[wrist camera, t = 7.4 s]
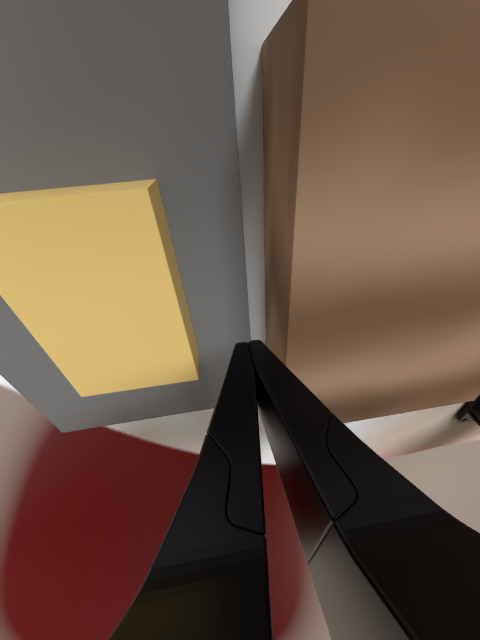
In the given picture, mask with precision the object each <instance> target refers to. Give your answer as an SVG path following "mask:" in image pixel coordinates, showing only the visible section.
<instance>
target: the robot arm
mask: <svg viewBox="0 0 480 640" xmlns="http://www.w3.org/2000/svg"><path fill="white" fill-rule="evenodd" d="M257 405H258V406H257ZM258 408H259V412H260V415H261V418H262V421H263V424H264V428H265V431H266V434H267V437H268V440H269V443H270V447H271V450H272V453H273V456H274V459H275V462H276V465H277V469H278V472H279V475H280V478H281V481H282V484H283V487H284V491H285V494H286V497H287V500H288V503H289V506H290V510H291V513H292V516H293V519H294V522H295V525H296V529H297V532H298V535H299V538H300V541H301V544H302V547H303V550H304V553H305V557H306V560H307V562H308V567H309V570H310V573H311V576H312V579H313V582H314V586H315V589H316V592H317V595H318V598H319V601H320V604H321V608H322V611H323V614H324V617H325V620H326V623H327V626H328V630H329V633H330V636H331V639H332V640H480V533H478V532H477V531H475V530H473V529H472V528H470V527H468V526H467V525H465V524H464V523H462V522H460V521H459V520H458V519H456V518H455V517H453V516H452V515H451V514H449V513H448V512H446V511H445V510H444V509H442V508H441V507H440V506H439V505H437V504H436V503H435V502H434V501H432V500H431V499H430V498H429V497H428V496H427V495H425V494H424V493H423V492H421V490H419V489H418V488H417V487H416V486H415V485H413V484H412V483H411V482H410V481H409V480H407V479H406V478H405V477H404V476H403V475H401V474H400V473H399V472H398V471H397V470H395V469H394V468H393V467H392V466H391V465H389V464H388V463H387V462H386V461H385V460H383V459H382V458H381V457H380V456H379V455H377V454H376V453H375V452H374V451H373V450H372V449H371V448H369V447H368V446H367V445H366V444H365V443H364V442H362V441H361V440H360V439H359V438H358V437H357V436H356V435H355V434H354V433H353V432H352V431H351V430H350V429H349V428H348V427H347V426H345V425H344V424H343V423H342V422H341V421H340V420H339V419H338V418H337V417H336V416H335V415H334V414H333V413H331V411H330V410H329V409H328V408H327V407H326V406H325V405H324V404H323V403H322V402H321V401H320V400H319V399H318V398H317V397H316V396H315V395H314V394H313V393H312V392H311V391H310V390H309V389H308V388H307V387H306V386H305V385H304V384H303V383H302V382H301V381H300V380H299V379H298V378H297V377H296V376H295V375H294V374H293V373H292V372H291V370H290V369H289V368H288V367H287V366H286V365H285V364H284V363H283V362H282V361H281V360H280V359H279V358H278V357H277V356H276V355H275V354H274V353H273V352H272V351H271V350H270V349H269V348H268V347H267V346H266V345H265V344H264V343H263V342H262V341H261V340H253V341H249V342H248V343H247V342H240V343H236V344H235V346H234V349H233V352H232V355H231V358H230V362H229V365H228V368H227V371H226V374H225V377H224V380H223V383H222V387H221V390H220V393H219V396H218V399H217V402H216V405H215V408H214V411H213V415H212V418H211V421H210V424H209V427H208V430H207V435H206V436H205V439H204V442H203V445H202V448H201V451H200V454H199V457H198V460H197V463H196V465H195V468H194V471H193V473H192V476H191V478H190V481H189V483H188V485H187V488H186V490H185V492H184V495H183V497H182V499H181V501H180V504H179V506H178V508H177V510H176V513H175V515H174V517H173V519H172V521H171V524H170V526H169V528H168V530H167V533H166V535H165V537H164V539H163V542H162V544H161V546H160V548H159V550H158V553H157V555H156V557H155V559H154V561H153V564H152V566H151V568H150V570H149V572H148V574H147V576H146V578H145V580H144V582H143V584H142V585H141V587H140V589H139V591H138V593H137V595H136V596H135V598H134V600H133V602H132V604H131V605H130V607H129V608H128V610H127V611H126V613H125V615H124V616H123V618H122V619H121V621H120V622H119V624H118V625H117V627H116V628H115V630H114V631H113V633H112V635H111V636H110V638H109V639H108V640H273V634H272V620H271V606H270V591H269V576H268V561H267V545H266V530H265V515H264V499H263V484H262V469H261V453H260V437H259V422H258ZM456 419H457V420H458V421H459V422H460V423H461V422H467V421H473V420H475V421H476V423H477V424H478V425H479V426H480V395H479V396H478V397H477V398H476V399H475V400H474V401H470V402H469V404H468V405H467V406H466V407H465V408H464V409H463V410H462V411H461V413H460V414H459V415H458V416H457V417H456Z"/></svg>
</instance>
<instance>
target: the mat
mask: <svg viewBox="0 0 480 640" xmlns="http://www.w3.org/2000/svg"><path fill="white" fill-rule="evenodd" d="M151 179H157V182H158V186H159V191H160V195H161V199H162V203H163V207H164V211H165V215H166V220H167V224H168V228H169V232H170V236H171V240H172V244H173V248H174V253H175V257H176V261H177V265H178V269H179V273H180V277H181V281H182V286H183V290H184V294H185V298H186V302H187V306H188V310H189V314H190V319H191V323H192V327H193V331H194V335H195V339H196V343H197V347H198V352H199V380H193V381H186V382H180V383H173V384H166V385H160V386H153V387H146V388H139V389H133V390H126V391H119V392H113V393H106V394H99V395H92V396H86V397H81V396H80V395H79V393H78V392H77V391H76V390H75V388H74V387H73V386H72V385H71V383H70V382H69V381H68V380H67V378H66V377H65V376H64V374H63V373H62V372H61V371H60V369H59V368H58V367H57V366H56V364H55V363H54V362H53V361H52V359H51V358H50V357H49V356H48V354H47V353H46V352H45V351H44V349H43V348H42V347H41V346H40V344H39V343H38V342H37V341H36V339H35V338H34V337H33V336H32V334H31V333H30V332H29V330H28V329H27V328H26V327H25V325H24V324H23V323H22V322H21V320H20V319H19V318H18V317H17V315H16V314H15V313H14V312H13V310H12V309H11V308H10V307H9V305H8V304H7V303H6V302H5V300H4V299H3V298H2V297H1V295H0V375H1V376H2V377H4V378H5V379H6V380H7V381H8V382H9V383H10V384H11V385H12V386H13V387H14V388H15V389H16V390H17V391H18V392H20V393H21V394H22V395H23V396H24V397H25V398H26V399H27V400H28V401H29V402H30V403H31V404H32V405H33V406H34V407H36V408H37V409H38V410H39V411H40V412H41V413H42V414H43V415H44V416H45V417H46V418H47V419H49V421H50V422H51V423H53V424H54V425H55V426H56V427H57V428H58V429H59V430H60V431H61V432H63V433H64V432H70V431H76V430H82V429H88V428H94V427H100V426H106V425H113V424H119V423H125V422H131V421H137V420H143V419H149V418H155V417H161V416H167V415H174V414H180V413H186V412H192V411H198V410H204V409H210V408H215V405H216V402H217V399H218V396H219V393H220V390H221V387H222V383H223V380H224V377H225V374H226V371H227V368H228V365H229V362H230V358H231V355H232V352H233V349H234V346H235V344H236V343H240V342H247V343H248V342H249V341H251V340H250V325H249V310H248V295H247V280H246V265H245V251H244V236H243V221H242V206H241V191H240V176H239V161H238V147H237V132H236V117H235V102H234V87H233V72H232V57H231V43H230V28H229V13H228V0H0V194H1V193H12V192H23V191H34V190H44V189H55V188H66V187H76V186H87V185H98V184H108V183H119V182H130V181H141V180H151Z"/></svg>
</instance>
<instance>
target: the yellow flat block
mask: <svg viewBox="0 0 480 640" xmlns="http://www.w3.org/2000/svg"><path fill="white" fill-rule="evenodd" d="M0 295H1V297H2V298H3V299H4V300H5V302H6V303H7V304H8V305H9V307H10V308H11V309H12V310H13V312H14V313H15V314H16V315H17V317H18V318H19V319H20V320H21V322H22V323H23V324H24V325H25V327H26V328H27V329H28V330H29V332H30V333H31V334H32V336H33V337H34V338H35V339H36V341H37V342H38V343H39V344H40V346H41V347H42V348H43V349H44V351H45V352H46V353H47V354H48V356H49V357H50V358H51V359H52V361H53V362H54V363H55V364H56V366H57V367H58V368H59V369H60V371H61V372H62V373H63V374H64V376H65V377H66V378H67V380H68V381H69V382H70V383H71V385H72V386H73V387H74V388H75V390H76V391H77V392H78V393H79V395H80V396H81V397H86V396H92V395H99V394H106V393H113V392H119V391H126V390H133V389H139V388H146V387H153V386H160V385H166V384H173V383H180V382H186V381H193V380H199V352H198V347H197V343H196V339H195V335H194V331H193V327H192V323H191V319H190V314H189V310H188V306H187V302H186V298H185V294H184V290H183V286H182V281H181V277H180V273H179V269H178V265H177V261H176V257H175V253H174V248H173V244H172V240H171V236H170V232H169V228H168V224H167V220H166V215H165V211H164V207H163V203H162V199H161V195H160V191H159V186H158V182H157V179H151V180H141V181H130V182H119V183H108V184H98V185H87V186H76V187H66V188H55V189H44V190H34V191H23V192H12V193H1V194H0Z"/></svg>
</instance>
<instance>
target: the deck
mask: <svg viewBox="0 0 480 640" xmlns="http://www.w3.org/2000/svg"><path fill="white" fill-rule="evenodd" d="M262 64H263V141H264V217H265V294H266V346H267V347H268V348H269V349H270V350H271V351H272V352H273V353H274V354H275V355H276V356H277V357H278V358H279V359H280V360H281V361H282V362H283V363H284V364H285V365H286V366H287V367H288V368H289V369H290V370H291V372H292V373H293V374H294V375H295V376H296V377H297V378H298V379H299V380H300V381H301V382H302V383H303V384H304V385H305V386H306V387H307V388H308V389H309V390H310V391H311V392H312V393H313V394H314V395H315V396H316V397H317V398H318V399H319V400H320V401H321V402H322V403H323V404H324V405H325V406H326V407H327V408H328V409H329V410H330V411H331V413H333V414H334V415H335V416H336V417H337V418H338V419H339V420H340V421H341V422H342V423H347V422H353V421H359V420H365V419H371V418H376V417H382V416H388V415H394V414H399V413H405V412H411V411H417V410H423V409H428V408H434V407H440V406H446V405H452V404H457V403H463V402H469V401H474V400H475V399H476V398H477V397H478V396H479V395H480V0H292V2H291V3H290V5H289V6H288V8H287V9H286V10H285V12H284V13H283V15H282V16H281V18H280V19H279V21H278V22H277V24H276V25H275V26H274V28H273V29H272V31H271V32H270V34H269V35H268V37H267V38H266V40H265V41H264V43H263V44H262Z"/></svg>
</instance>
